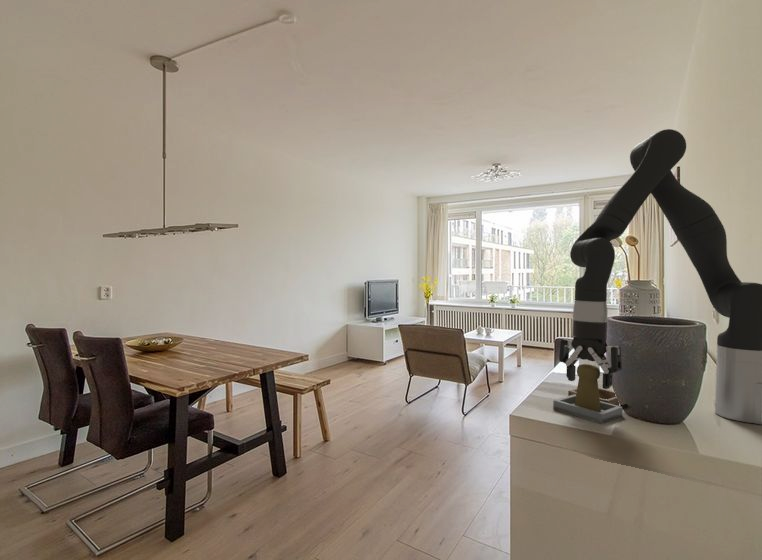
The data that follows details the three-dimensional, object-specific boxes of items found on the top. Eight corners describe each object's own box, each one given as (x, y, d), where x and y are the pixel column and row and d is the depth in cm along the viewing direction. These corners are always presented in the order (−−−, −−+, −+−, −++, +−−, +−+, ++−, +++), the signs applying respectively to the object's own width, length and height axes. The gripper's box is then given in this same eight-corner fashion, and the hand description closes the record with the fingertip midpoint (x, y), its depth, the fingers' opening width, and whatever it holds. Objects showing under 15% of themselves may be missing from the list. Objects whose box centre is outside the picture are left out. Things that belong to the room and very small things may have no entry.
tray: (622, 416, 96) (622, 407, 96) (601, 423, 91) (602, 414, 91) (574, 402, 106) (574, 394, 106) (553, 408, 101) (553, 400, 101)
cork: (606, 413, 95) (607, 368, 95) (580, 412, 96) (582, 367, 96) (593, 405, 101) (594, 362, 101) (569, 404, 102) (570, 362, 102)
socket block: (626, 404, 106) (626, 394, 106) (607, 410, 100) (608, 401, 100) (587, 394, 115) (588, 385, 115) (568, 399, 109) (568, 390, 109)
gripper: (628, 321, 95) (626, 389, 95) (570, 315, 106) (568, 376, 106) (612, 323, 90) (611, 394, 90) (554, 317, 102) (553, 379, 102)
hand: (588, 384), depth 98 cm, fingers open, 8 cm apart
